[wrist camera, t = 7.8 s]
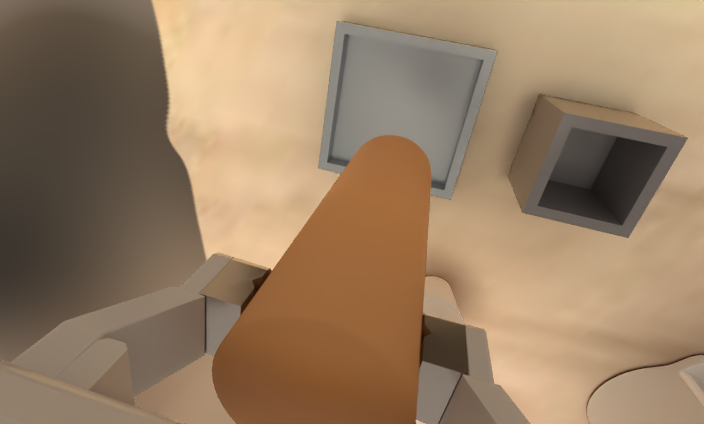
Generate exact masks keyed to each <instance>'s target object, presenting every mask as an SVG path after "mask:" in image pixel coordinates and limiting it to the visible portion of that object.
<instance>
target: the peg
mask: <svg viewBox="0 0 704 424" xmlns="http://www.w3.org/2000/svg"><path fill="white" fill-rule="evenodd" d="M430 191H431V166H430V163H429V160H428V158H427V156H426V154H425V153H424V151H423V150H422V149H421V148H420V147H419V146H418V145H417V144H416V143H414V142H413V141H411V140H409V139H407V138H405V137H402V136H397V135H382V136H378V137H375V138H373V139H371V140H369V141H367V142H366V143H365V144H363V145H362V146H361V147H360V148H359V150H358V151H357V152H356V154H355V155H354V156H353V158H352V159H351V161H350V162H349V163H348V165H347V166H346V168H345V169H344V171H343V172H342V173H341V175H340V176H339V178H338V179H337V180H336V182H335V183H334V185H333V186H332V187H331V189H330V190H329V192H328V193H327V194H326V196H325V197H324V199H323V200H322V201H321V203H320V204H319V206H318V207H317V209H316V210H315V211H314V213H313V214H312V216H311V217H310V218H309V220H308V221H307V223H306V224H305V225H304V227H303V228H302V230H301V231H300V232H299V234H298V235H297V237H296V238H295V239H294V241H293V242H292V244H291V245H290V246H289V248H288V249H287V251H286V252H285V254H284V255H283V256H282V258H281V259H280V261H279V262H278V263H277V265H276V266H275V268H274V269H273V270H272V272H271V273H270V275H269V276H268V277H267V279H266V280H265V282H264V283H263V284H262V286H261V287H260V289H259V290H258V292H257V293H256V294H255V296H254V297H253V299H252V300H251V301H250V303H249V304H248V306H247V307H246V308H245V310H244V311H243V313H242V314H241V315H240V317H239V318H238V320H237V321H236V322H235V324H234V325H233V327H232V328H231V330H230V331H229V332H228V334H227V335H226V337H225V338H224V339H223V341H222V342H221V344H220V345H219V347H218V349H217V351H216V353H215V356H214V359H213V366H212V376H213V383H214V387H215V390H216V393H217V395H218V398H219V399H220V401H221V403H222V405H223V407H224V408H225V410H226V411H227V413H228V414H229V415H230V417H231V418H232V419H233V420H234V421H235V422H236V424H416V415H417V399H418V383H419V367H420V351H421V335H422V319H423V303H424V287H425V271H426V255H427V239H428V223H429V207H430Z"/></svg>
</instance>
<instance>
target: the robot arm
mask: <svg viewBox="0 0 704 424" xmlns="http://www.w3.org/2000/svg"><path fill="white" fill-rule="evenodd" d="M271 272H272V271H271V269H270V268H267V267H263V266H260V265H257V264H254V263H251V262H247V261H244V260H241V259H238V258H234V257H231V256H227V255H224V254H221V253H215V254H213V255H212V256H211V257H210V258H209V259H208V260H207V261H206V262H205V263H204V264H203V265H202V266H201V267H199V268H198V270H196V271H195V272H194V273H193V274H192V276H190V277H189V278H188V279H187V280H186V281H185V282H184V283H183V284H182V285H181V286H180V287H179V288H176V287H170V288H167V289H164V290H160V291H157V292H154V293H151V294H148V295H145V296H142V297H139V298H136V299H132V300H129V301H126V302H123V303H120V304H117V305H113V306H110V307H107V308H104V309H101V310H98V311H95V312H92V313H89V314H85V315H82V316H79V317H76V318H73V319H70V320H67V321H64V322H63V323H61V324H60V325H59V326H57V327H56V328H55V329H54V330H52V331H51V332H50V333H48V334H47V335H46V336H44V337H43V338H42V339H41V340H39V341H38V342H37V343H36V344H34V345H33V346H31V347H30V348H29V349H28V350H26V351H25V352H24V353H22V354H21V355H20V356H18V357H17V358H16V359H14V360H13V361H12V362H11V363H7V362H5V361H2V360H0V424H185V423H182V422H179V421H176V420H173V419H171V418H168V417H164V416H162V415H159V414H156V413H153V412H150V411H147V410H144V409H142V408H139V407H136V406H135V402H134V397H135V396H136V395H138V394H140V393H141V392H143V391H145V390H147V389H148V388H150V387H151V386H153V385H155V384H157V383H158V382H160V381H162V380H163V379H165V378H167V377H168V376H170V375H172V374H173V373H175V372H177V371H178V370H180V369H182V368H184V367H185V366H187V365H189V364H190V363H192V362H194V361H195V360H197V359H199V358H200V357H202V356H204V355H205V353H207V354H210V355H214V356H215V353H216V351H217V349H218V347H219V345H220V344H221V342H222V341H223V339H224V338H225V337H226V335H227V334H228V332H229V331H230V330H231V328H232V327H233V325H234V324H235V322H236V321H237V320H238V318H239V317H240V315H241V314H242V313H243V311H244V310H245V308H246V307H247V306H248V304H249V303H250V301H251V300H252V299H253V297H254V296H255V294H256V293H257V292H258V290H259V289H260V287H261V286H262V284H263V283H264V282H265V280H266V279H267V277H268V276H269V275H270V273H271ZM587 417H588V421H589V423H590V424H704V355H697V356H693V357H689V358H686V359H684V360H681V361H678V362H676V363H674V364H671V365H667V366H660V367H651V368H644V369H639V370H634V371H630V372H627V373H624V374H622V375H619V376H617V377H615V378H613V379H611V380H609V381H607V382H606V383H604V384H603V385H602V386H600V387H599V388H598V389H597V390H596V391H595V392H594V394H593V395H592V397H591V398H590V400H589V403H588V406H587ZM416 420H418V421H421V422H423V423H426V424H530V422H529V421H528V420H527V419H526V417H525V416H524V415H523V414H522V412H521V411H520V410H519V408H518V407H517V406H516V405H515V403H514V402H513V401H512V400H511V398H510V397H509V396H508V394H507V393H506V392H505V391H504V389H503V388H502V387H501V386H500V385H497V384H494V379H493V373H492V366H491V360H490V354H489V347H488V341H487V334H486V332H485V330H484V329H481V328H477V327H474V326H470V325H466V324H460V323H457V322H453V321H450V320H446V319H443V318H439V317H436V316H432V315H429V314H425V313H423V319H422V335H421V351H420V367H419V383H418V399H417V415H416Z"/></svg>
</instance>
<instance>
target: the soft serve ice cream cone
mask: <svg viewBox="0 0 704 424" xmlns="http://www.w3.org/2000/svg"><path fill="white" fill-rule="evenodd" d="M423 313H425V314H429V315H432V316H436V317H439V318H443V319H446V320H450V321H453V322H457V323H460V324H464V320H463V317H462V315H461V313H460V312H459V310H458V307H457V304H456V301H455V298H454V295H453V292H452V289H451V287H450V285H449V284H448V283H447V282H446V281H445V280H443V279H442V278H439V277H435V276H427V277H425V287H424V303H423ZM416 422H418V420H416Z"/></svg>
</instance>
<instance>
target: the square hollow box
mask: <svg viewBox="0 0 704 424" xmlns="http://www.w3.org/2000/svg"><path fill="white" fill-rule="evenodd" d="M687 139H688V138H687V137H685V136H683V135H681V134H678V133H676V132H674V131H672V130H670V129H668V128H666V127H663V126H661V125H659V124H657V123H655V122H653V121H651V120H648V119H646V118H644V117H642V116H640V115H638V114H636V113H632V112H627V111H622V110H617V109H612V108H607V107H602V106H597V105H592V104H587V103H582V102H577V101H572V100H567V99H562V98H557V97H552V96H546V95H541V94H539V97H538V99H537V102H536V104H535V107H534V110H533V112H532V115H531V118H530V120H529V123H528V125H527V128H526V131H525V133H524V136H523V138H522V141H521V144H520V146H519V149H518V151H517V154H516V157H515V159H514V162H513V164H512V167H511V170H510V172H509V175H508V177H509V180H510V182H511V185H512V187H513V190H514V193H515V195H516V198H517V200H518V203H519V205H520V208H521V211H522V213H526V214H530V215H535V216H539V217H543V218H547V219H551V220H555V221H560V222H564V223H568V224H572V225H576V226H580V227H585V228H589V229H593V230H597V231H601V232H606V233H610V234H614V235H618V236H622V237H626V238H629V236H630V234H631V233H632V231H633V229H634V228H635V226H636V224H637V223H638V221H639V219H640V218H641V216H642V214H643V212H644V211H645V209H646V207H647V206H648V204H649V202H650V201H651V199H652V197H653V196H654V194H655V192H656V191H657V189H658V187H659V186H660V184H661V182H662V181H663V179H664V177H665V176H666V174H667V172H668V171H669V169H670V167H671V166H672V164H673V162H674V160H675V159H676V157H677V155H678V154H679V152H680V150H681V149H682V147H683V145H684V144H685V142H686V140H687Z"/></svg>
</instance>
